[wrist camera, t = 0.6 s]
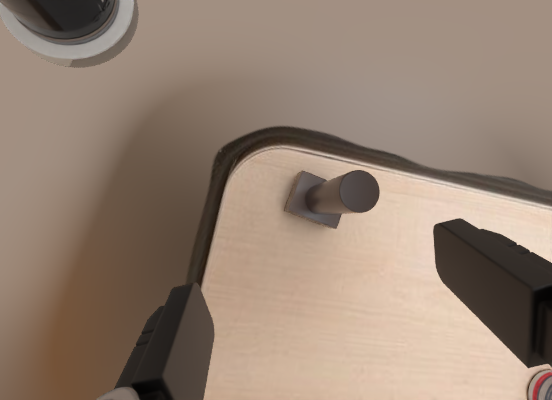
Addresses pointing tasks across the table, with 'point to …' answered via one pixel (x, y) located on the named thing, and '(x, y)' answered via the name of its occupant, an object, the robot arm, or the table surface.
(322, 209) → the brown peg on base
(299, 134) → the table surface
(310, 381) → the table surface
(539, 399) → the pill bottle
